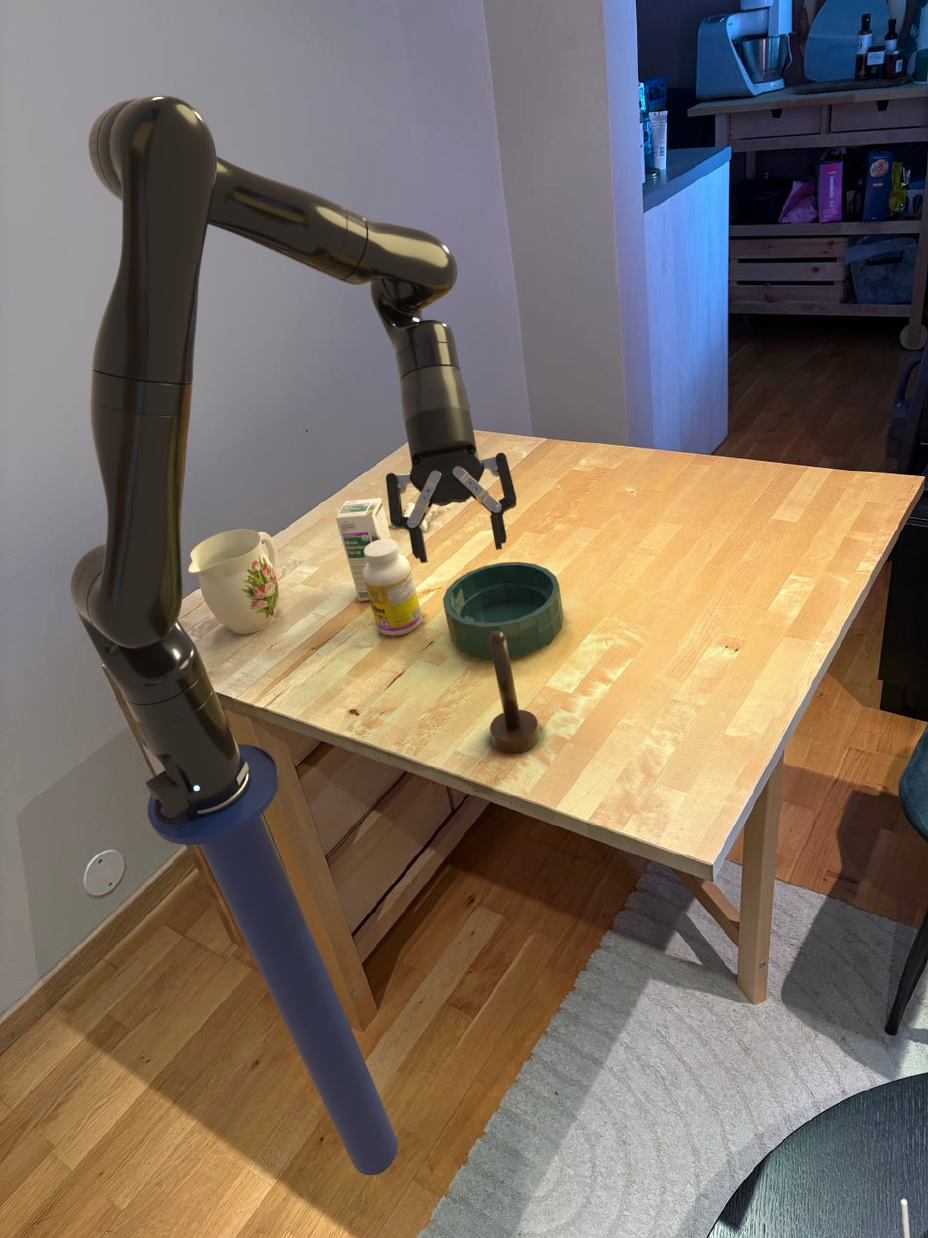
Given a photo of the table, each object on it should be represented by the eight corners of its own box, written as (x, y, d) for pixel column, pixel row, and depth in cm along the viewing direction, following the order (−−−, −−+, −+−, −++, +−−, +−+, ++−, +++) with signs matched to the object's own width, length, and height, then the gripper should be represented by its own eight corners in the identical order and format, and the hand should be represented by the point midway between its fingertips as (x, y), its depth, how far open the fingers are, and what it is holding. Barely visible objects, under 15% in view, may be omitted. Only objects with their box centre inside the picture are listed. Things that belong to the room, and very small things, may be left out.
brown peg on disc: (515, 761, 104) (495, 654, 96) (482, 741, 108) (460, 636, 100) (549, 734, 107) (532, 628, 99) (516, 716, 111) (497, 612, 102)
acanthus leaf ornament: (408, 509, 163) (406, 499, 162) (443, 510, 160) (441, 500, 159) (390, 529, 157) (387, 520, 156) (425, 531, 154) (423, 521, 153)
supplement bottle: (371, 621, 134) (350, 545, 127) (413, 605, 136) (394, 529, 129) (386, 643, 129) (365, 565, 122) (429, 626, 130) (411, 548, 123)
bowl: (505, 678, 117) (498, 640, 114) (428, 637, 128) (420, 602, 125) (587, 619, 125) (583, 582, 122) (508, 586, 136) (502, 551, 132)
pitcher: (315, 587, 145) (291, 510, 138) (254, 656, 132) (224, 574, 124) (258, 583, 149) (232, 508, 142) (193, 649, 136) (160, 570, 129)
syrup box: (357, 602, 139) (333, 517, 131) (367, 581, 144) (344, 498, 136) (393, 600, 138) (371, 514, 130) (402, 579, 143) (381, 495, 135)
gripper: (370, 417, 101) (395, 562, 100) (498, 393, 100) (524, 538, 99) (380, 436, 108) (403, 571, 107) (499, 413, 108) (524, 548, 106)
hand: (461, 555), depth 103 cm, fingers open, 8 cm apart
